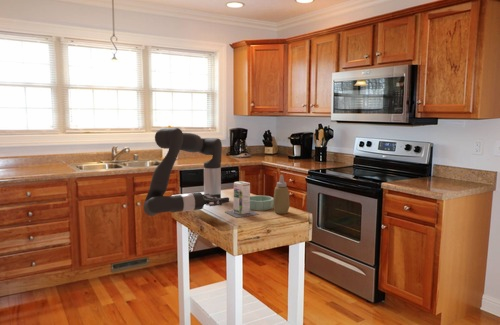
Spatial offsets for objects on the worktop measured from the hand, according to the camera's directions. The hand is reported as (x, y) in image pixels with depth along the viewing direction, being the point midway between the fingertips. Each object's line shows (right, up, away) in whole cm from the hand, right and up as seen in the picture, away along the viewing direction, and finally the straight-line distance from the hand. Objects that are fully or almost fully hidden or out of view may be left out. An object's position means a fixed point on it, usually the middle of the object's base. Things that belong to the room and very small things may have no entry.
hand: (224, 198), depth 179 cm
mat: (+8, -8, +5) cm, 12 cm away
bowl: (+16, -6, +18) cm, 25 cm away
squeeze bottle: (+26, -8, +7) cm, 28 cm away
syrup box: (+8, -8, +5) cm, 12 cm away
